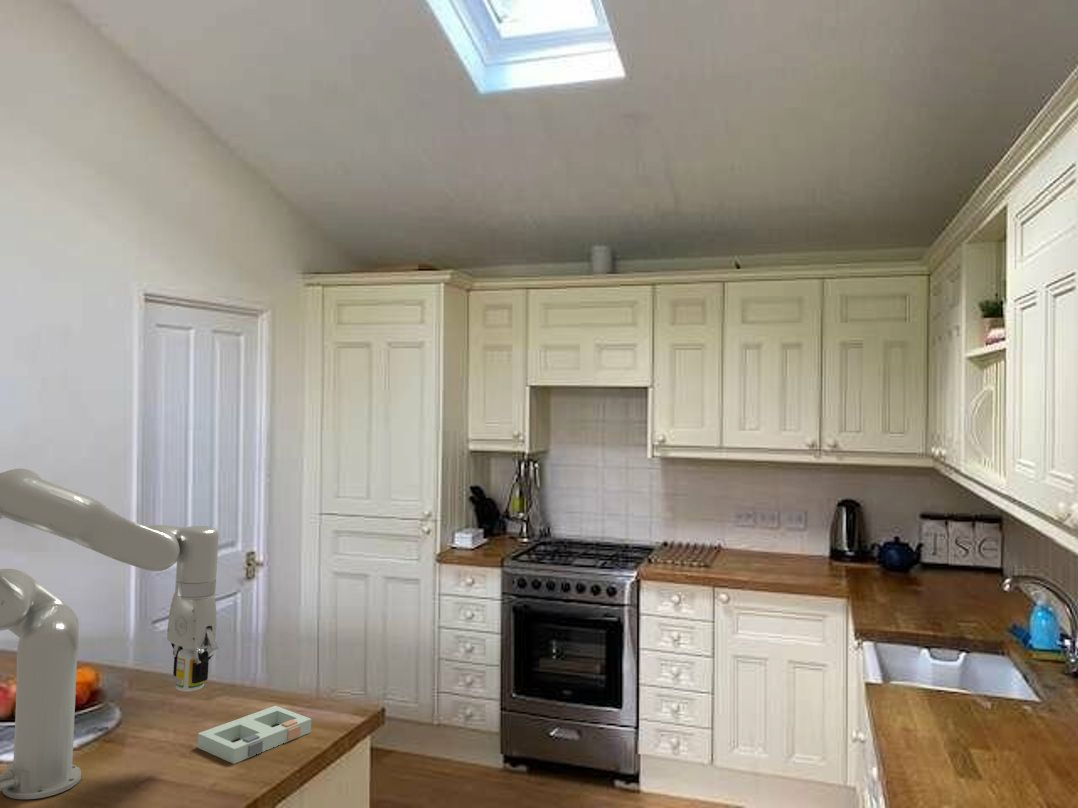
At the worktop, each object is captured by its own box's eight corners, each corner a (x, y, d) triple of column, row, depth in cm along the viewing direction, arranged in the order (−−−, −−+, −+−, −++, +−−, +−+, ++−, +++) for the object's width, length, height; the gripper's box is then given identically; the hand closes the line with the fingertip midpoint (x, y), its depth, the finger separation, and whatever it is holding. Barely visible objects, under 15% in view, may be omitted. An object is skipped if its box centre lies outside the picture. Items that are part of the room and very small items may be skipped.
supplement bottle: (171, 691, 161) (174, 643, 161) (180, 682, 167) (183, 635, 167) (199, 692, 162) (202, 644, 162) (207, 682, 167) (210, 636, 167)
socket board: (235, 764, 164) (235, 747, 164) (197, 747, 171) (198, 731, 171) (311, 732, 181) (312, 717, 181) (274, 718, 188) (275, 703, 188)
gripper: (153, 584, 166) (148, 673, 166) (205, 599, 156) (199, 693, 156) (186, 578, 172) (181, 664, 172) (238, 592, 163) (233, 683, 163)
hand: (190, 677), depth 164 cm, fingers closed on supplement bottle, 5 cm apart
